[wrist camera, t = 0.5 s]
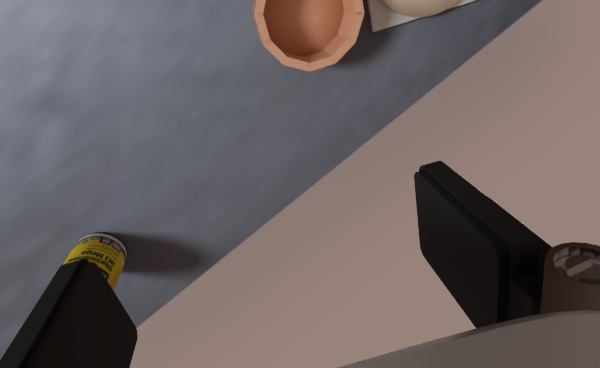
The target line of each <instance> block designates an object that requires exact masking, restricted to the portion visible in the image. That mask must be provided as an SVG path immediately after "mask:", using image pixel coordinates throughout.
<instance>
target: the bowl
mask: <svg viewBox="0 0 600 368" xmlns="http://www.w3.org/2000/svg"><path fill="white" fill-rule="evenodd" d="M251 13H252V16H253V19H254V23H255V26H256V29H257V33H258V36H259V39H260V41H261V42H262V44H263V45H264V46H265V47H266V48H267V49H268V50H269V51H270V52H271V53H272V54H273V55H274V56H275V57H276V58H277V59H278V60H279V61H280V62H281V63H282V64H283V65H285V66H289V67H293V68H297V69H301V70H305V71H313V70H317V69H320V68H323V67H326V66H330V65H333V64H335V63H337V62H338V61H339V60H340V59H341V58H342V56H343V55H344V54H345V53H346V52H347V51H348V50H349V49H350V48H351V47H352V46H353V45H354V44H355V42H356V40H357V36H358V33H359V30H360V27H361V23H362V20H363V17H364V14H363V13H364V7H363V1H362V0H253V6H252V11H251Z"/></svg>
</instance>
